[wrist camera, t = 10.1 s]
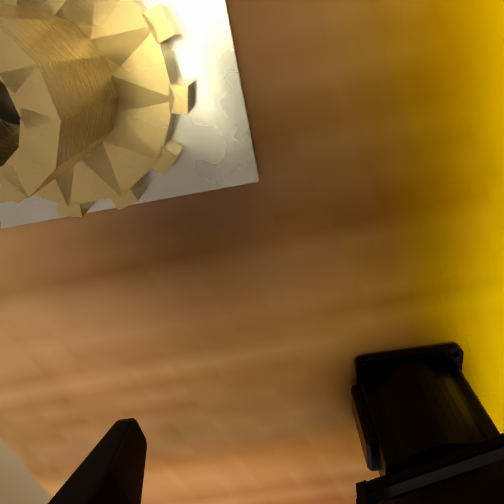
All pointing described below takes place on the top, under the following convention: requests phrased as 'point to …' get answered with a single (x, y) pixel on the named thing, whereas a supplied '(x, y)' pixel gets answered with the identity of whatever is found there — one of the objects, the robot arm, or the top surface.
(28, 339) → the top surface
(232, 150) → the carrier plate
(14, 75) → the gear
